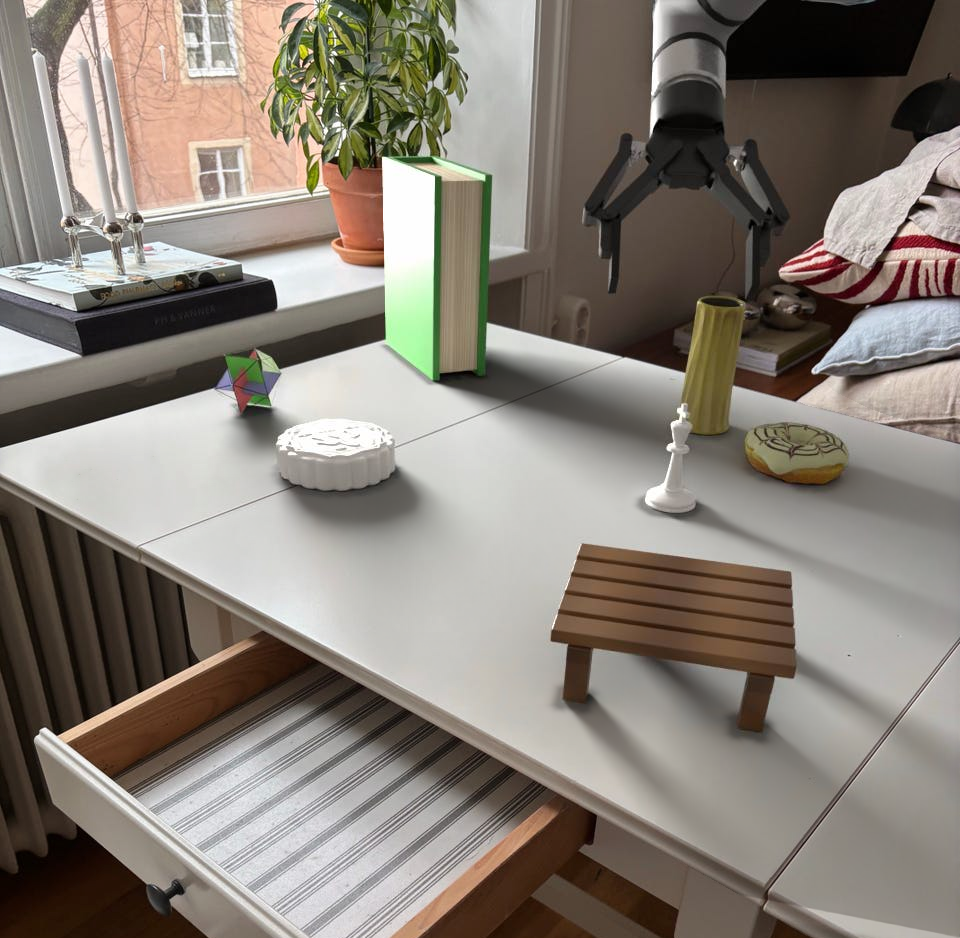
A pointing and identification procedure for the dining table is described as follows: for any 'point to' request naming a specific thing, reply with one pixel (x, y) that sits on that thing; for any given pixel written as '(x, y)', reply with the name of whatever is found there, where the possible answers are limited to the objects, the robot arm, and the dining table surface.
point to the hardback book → (436, 262)
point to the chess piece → (674, 472)
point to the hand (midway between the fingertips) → (682, 289)
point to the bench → (679, 618)
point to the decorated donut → (796, 452)
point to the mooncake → (335, 454)
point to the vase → (712, 363)
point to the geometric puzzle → (249, 379)
